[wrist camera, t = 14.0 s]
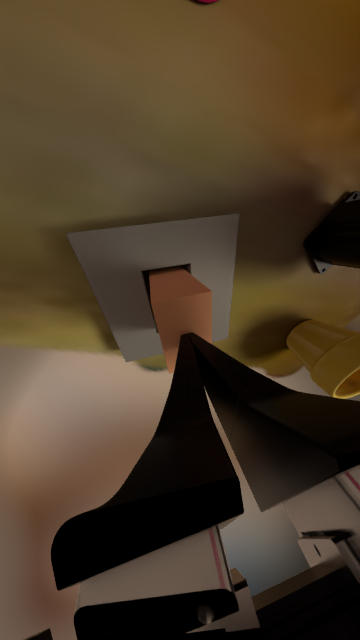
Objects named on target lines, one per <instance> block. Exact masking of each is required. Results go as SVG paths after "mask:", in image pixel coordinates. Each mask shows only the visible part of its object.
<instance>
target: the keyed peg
mask: <svg viewBox="0 0 360 640" xmlns="http://www.w3.org/2000/svg"><path fill="white" fill-rule="evenodd" d="M149 280H150V295H151V305H152V309H153V313H154V317H155V321H156V325H157V328H158V332H159V336H160V340H161V344H162V348H163V352H164V355H165V359H166V363H167V367H168V371H169V373H173V372H174V369H175V364H176V358H177V353H178V348H179V342H180V337H181V335H182V334H187V333H191V332H193V333H195V334H197V335H198V336H200V337H201V338H203V339H204V340H206V341H208V342H209V343H211V344H212V291H211V290H210V289H209V288H207V287H206V286H205V285H203V284H202V283H201V282H200V281H198V280H197V279H196V278H195V277H193V276H192V275H191V274H190V273H188V272H187V271H186V270H185V269H183V268H182V267H181V266H175V267H170V268H164V269H158V270H152V271H149Z"/></svg>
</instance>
